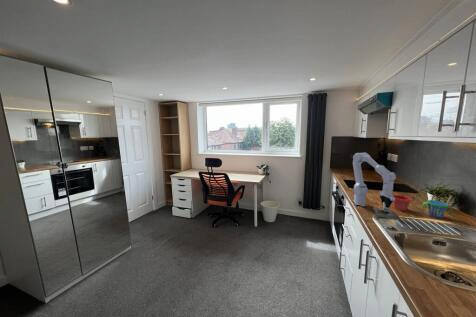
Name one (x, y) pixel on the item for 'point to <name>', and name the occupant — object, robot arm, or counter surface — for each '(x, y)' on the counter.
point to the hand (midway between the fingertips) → (385, 206)
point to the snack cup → (436, 208)
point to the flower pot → (401, 202)
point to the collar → (385, 213)
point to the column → (385, 208)
